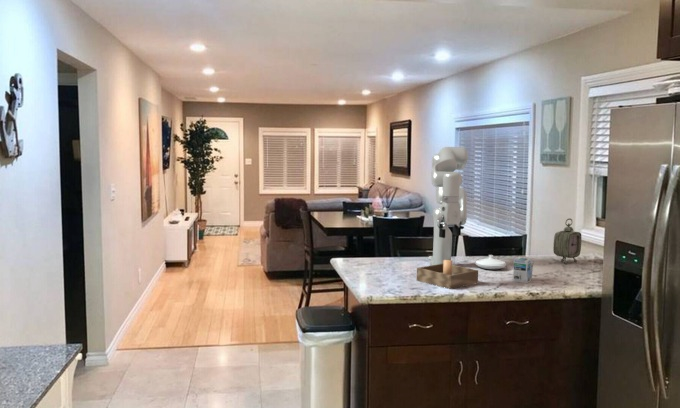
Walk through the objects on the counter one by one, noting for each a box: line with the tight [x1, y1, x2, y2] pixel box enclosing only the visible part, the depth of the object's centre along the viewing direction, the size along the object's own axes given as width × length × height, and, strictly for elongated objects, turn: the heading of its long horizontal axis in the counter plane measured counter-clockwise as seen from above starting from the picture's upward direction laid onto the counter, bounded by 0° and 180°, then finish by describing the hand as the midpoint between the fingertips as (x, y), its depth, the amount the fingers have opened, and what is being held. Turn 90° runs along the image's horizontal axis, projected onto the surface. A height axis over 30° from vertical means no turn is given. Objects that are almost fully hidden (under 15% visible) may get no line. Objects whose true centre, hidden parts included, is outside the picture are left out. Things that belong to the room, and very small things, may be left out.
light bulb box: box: [512, 255, 534, 284], centre depth 272 cm, size 11×7×11 cm, turn 148°
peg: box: [443, 259, 453, 275], centre depth 266 cm, size 4×4×10 cm
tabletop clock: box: [553, 217, 582, 265], centre depth 319 cm, size 14×9×25 cm, turn 129°
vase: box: [475, 254, 507, 271], centre depth 299 cm, size 16×16×7 cm
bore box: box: [416, 263, 479, 290], centre depth 266 cm, size 20×20×6 cm
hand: (448, 236), depth 264 cm, fingers open, 9 cm apart
